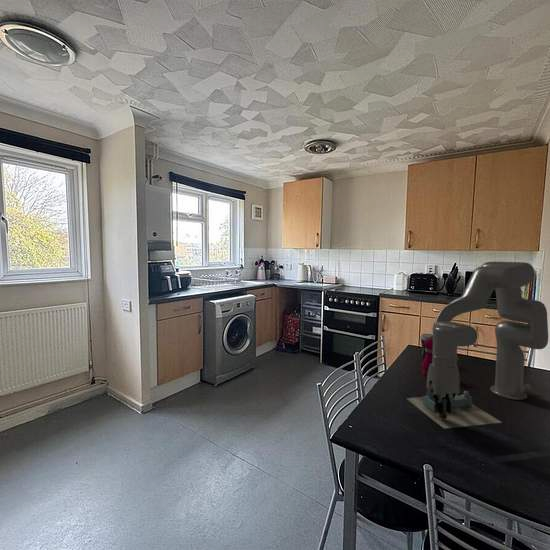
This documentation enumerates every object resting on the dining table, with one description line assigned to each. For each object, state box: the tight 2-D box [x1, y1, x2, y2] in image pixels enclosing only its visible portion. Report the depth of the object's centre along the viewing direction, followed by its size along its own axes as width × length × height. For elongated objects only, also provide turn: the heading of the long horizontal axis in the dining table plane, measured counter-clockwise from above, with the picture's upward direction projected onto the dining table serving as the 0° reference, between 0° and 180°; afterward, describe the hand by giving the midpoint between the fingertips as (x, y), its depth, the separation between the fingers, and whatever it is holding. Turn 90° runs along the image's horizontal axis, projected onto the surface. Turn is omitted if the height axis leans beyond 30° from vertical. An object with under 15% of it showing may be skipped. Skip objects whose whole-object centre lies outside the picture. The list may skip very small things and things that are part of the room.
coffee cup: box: [419, 333, 433, 362], centre depth 171 cm, size 10×10×15 cm
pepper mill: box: [421, 336, 433, 377], centre depth 152 cm, size 7×7×20 cm
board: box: [406, 391, 503, 430], centre depth 116 cm, size 23×22×7 cm
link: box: [422, 390, 473, 412], centre depth 118 cm, size 18×6×5 cm, turn 99°
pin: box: [439, 396, 447, 419], centre depth 109 cm, size 3×3×7 cm
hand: (442, 411), depth 109 cm, fingers closed on pin, 2 cm apart
